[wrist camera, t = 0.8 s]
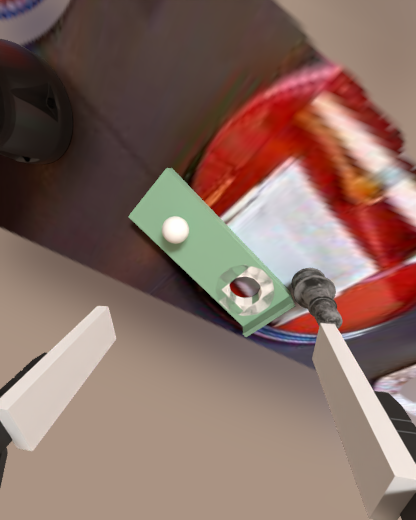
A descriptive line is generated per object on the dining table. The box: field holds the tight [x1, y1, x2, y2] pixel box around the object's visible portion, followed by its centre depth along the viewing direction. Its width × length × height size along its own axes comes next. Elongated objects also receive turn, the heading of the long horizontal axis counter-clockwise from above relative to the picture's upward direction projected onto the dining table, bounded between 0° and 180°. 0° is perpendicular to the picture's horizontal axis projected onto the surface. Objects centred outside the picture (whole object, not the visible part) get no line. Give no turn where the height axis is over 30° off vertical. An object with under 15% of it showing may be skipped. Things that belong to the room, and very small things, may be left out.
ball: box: [162, 216, 189, 244], centre depth 32 cm, size 4×4×4 cm
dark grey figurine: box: [292, 268, 342, 329], centre depth 30 cm, size 6×6×12 cm
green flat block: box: [128, 168, 295, 337], centre depth 35 cm, size 28×10×4 cm, turn 45°
